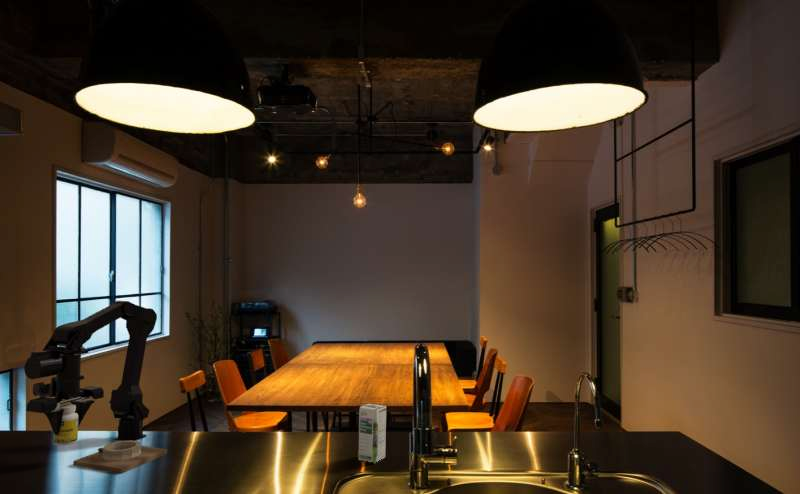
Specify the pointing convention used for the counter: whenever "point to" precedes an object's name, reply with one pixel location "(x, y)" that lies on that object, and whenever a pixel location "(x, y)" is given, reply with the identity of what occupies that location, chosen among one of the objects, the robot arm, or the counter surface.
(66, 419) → the supplement bottle
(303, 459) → the counter surface
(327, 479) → the counter surface
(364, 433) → the syrup box
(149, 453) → the dock
